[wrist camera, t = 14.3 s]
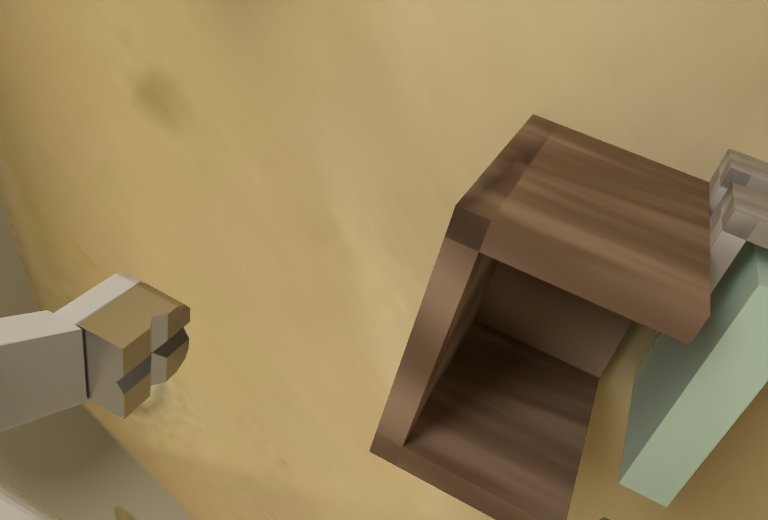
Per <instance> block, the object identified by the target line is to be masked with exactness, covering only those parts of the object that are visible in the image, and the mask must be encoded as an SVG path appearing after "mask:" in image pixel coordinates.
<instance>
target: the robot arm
mask: <svg viewBox="0 0 768 520" xmlns="http://www.w3.org/2000/svg"><path fill="white" fill-rule="evenodd" d="M189 322H190V308H189V307H188V306H186V305H185V304H183V303H181V302H179V301H177V300H176V299H174V298H172V297H170V296H168V295H166V294H165V293H163V292H161V291H159V290H157V289H155V288H154V287H152V286H150V285H148V284H146V283H144V282H142V281H140V280H138V279H136V278H134V277H133V276H131V275H129V274H127V273H125V272H122V273H116V274H114V275H112V276H111V277H109V278H107V279H106V280H104V281H103V282H101V283H100V284H98V285H97V286H95V287H94V288H92V289H90V290H89V291H87V292H86V293H84V294H83V295H81V296H80V297H78V298H76V299H75V300H73V301H72V302H70V303H69V304H67V305H66V306H64V307H62V308H61V309H59V310H58V311H56V312H55V313H52V312H50V311H48V310H45V311H39V312H33V313H28V314H22V315H16V316H10V317H4V318H0V432H2V431H5V430H8V429H11V428H13V427H16V426H19V425H22V424H25V423H28V422H31V421H34V420H36V419H39V418H42V417H45V416H48V415H51V414H54V413H57V412H59V411H62V410H65V409H68V408H71V407H74V406H76V405H79V404H82V403H85V402H87V399H88V400H90V401H92V402H94V403H96V404H97V405H99V406H101V407H103V408H105V409H107V410H109V411H111V412H112V413H114V414H116V415H118V416H120V417H122V418H124V419H125V418H126V417H127V416H128V415H130V414H131V413H132V412H133V411H134V410H135V409H136V408H137V407H138V406H140V405H141V404H142V403H143V402H144V401H145V400H146V399H147V398H149V397H150V391H151V385H155V384H159V383H163V382H166V381H167V380H168V379H169V378H170V377H172V376H173V375H174V374H175V373H176V372H177V370H178V369H179V367H180V366H181V364H182V363H183V361H184V359H185V357H186V354H187V351H188V347H189V337H188V335H187V333H186V331H185V329H184V326H185V325H186V324H188V323H189ZM0 520H62V519H61V518H59V517H57V516H56V515H54V514H53V513H51V512H49V511H48V510H46V509H45V508H43V507H42V506H40V505H38V504H37V503H35V502H34V501H32V500H30V499H29V498H27V497H26V496H24V495H23V494H21V493H19V492H18V491H16V490H14V489H13V488H12V487H10V486H8V485H7V484H5V483H4V482H2V481H1V480H0ZM600 520H609V519H607V518H605V517H603V518H602V519H600Z"/></svg>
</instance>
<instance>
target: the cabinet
mask: <svg viewBox="0 0 768 520" xmlns="http://www.w3.org/2000/svg"><path fill="white" fill-rule="evenodd" d="M746 241H749V242H751V243H754V244H756V245H759V246H761V247H764V248H766V249H768V163H765V162H763V161H760V160H757V159H755V158H752V157H749V156H747V155H744V154H741V153H739V152H736V151H733V150H731V149H729V150H728V152H727V154H726V155H725V157H724V159H723V160H722V162H721V164H720V165H719V167H718V169H717V171H716V172H715V174H714V176H713V177H712V179H711V181H710V182H706V181H704V180H701V179H698V178H696V177H693V176H691V175H688V174H686V173H683V172H680V171H678V170H675V169H673V168H670V167H667V166H665V165H662V164H660V163H657V162H655V161H652V160H649V159H647V158H644V157H642V156H639V155H637V154H634V153H631V152H629V151H626V150H624V149H621V148H618V147H616V146H613V145H611V144H608V143H606V142H603V141H600V140H598V139H595V138H593V137H590V136H588V135H585V134H582V133H580V132H577V131H575V130H572V129H569V128H567V127H564V126H562V125H559V124H557V123H554V122H551V121H549V120H546V119H544V118H541V117H539V116H536V115H532V116H531V117H530V119H529V120H528V121H527V122H526V123H525V124H524V126H523V127H522V128H521V129H520V130H519V132H518V133H517V134H516V135H515V136H514V137H513V139H512V140H511V141H510V142H509V143H508V144H507V146H506V147H505V148H504V149H503V150H502V151H501V153H500V154H499V155H498V156H497V157H496V159H495V160H494V161H493V162H492V163H491V164H490V166H489V167H488V168H487V169H486V170H485V171H484V173H483V174H482V175H481V176H480V177H479V179H478V180H477V181H476V182H475V183H474V184H473V186H472V187H471V188H470V189H469V190H468V191H467V193H466V194H465V195H464V196H463V197H462V198H461V200H460V201H459V202H458V203H457V204H456V206H455V209H454V212H453V215H452V218H451V220H450V223H449V226H448V229H447V232H446V235H445V237H444V240H443V243H442V246H441V249H440V252H439V255H438V257H437V260H436V263H435V266H434V269H433V272H432V274H431V277H430V280H429V283H428V286H427V289H426V292H425V294H424V297H423V300H422V303H421V306H420V309H419V311H418V314H417V317H416V320H415V323H414V326H413V329H412V331H411V334H410V337H409V340H408V343H407V346H406V348H405V351H404V354H403V357H402V360H401V363H400V366H399V368H398V371H397V374H396V377H395V380H394V383H393V385H392V388H391V391H390V394H389V397H388V400H387V403H386V405H385V408H384V411H383V414H382V417H381V420H380V422H379V425H378V428H377V431H376V434H375V437H374V440H373V442H372V445H371V448H370V452H372V453H373V454H375V455H377V456H379V457H381V458H383V459H384V460H386V461H388V462H390V463H392V464H394V465H396V466H397V467H399V468H401V469H403V470H405V471H407V472H409V473H410V474H412V475H414V476H416V477H418V478H420V479H422V480H423V481H425V482H427V483H429V484H431V485H433V486H435V487H436V488H438V489H440V490H442V491H444V492H446V493H447V494H449V495H451V496H453V497H455V498H457V499H459V500H460V501H462V502H464V503H466V504H468V505H470V506H472V507H473V508H475V509H477V510H479V511H481V512H483V513H485V514H486V515H488V516H490V517H492V518H494V519H496V520H566V519H567V515H568V510H569V506H570V502H571V497H572V493H573V489H574V484H575V480H576V476H577V472H578V467H579V463H580V459H581V454H582V450H583V446H584V441H585V437H586V433H587V428H588V424H589V420H590V415H591V411H592V407H593V402H594V398H595V394H596V389H597V385H598V381H599V377H600V376H601V374H602V372H603V371H604V369H605V367H606V366H607V364H608V362H609V360H610V359H611V357H612V355H613V354H614V352H615V350H616V349H617V347H618V345H619V344H620V342H621V340H622V339H623V337H624V335H625V334H626V332H627V330H628V329H629V327H630V325H631V324H632V322H633V321H635V322H638V323H640V324H642V325H644V326H647V327H649V328H651V329H653V330H656V331H658V332H660V333H662V334H664V335H667V336H669V337H671V338H673V339H676V340H678V341H680V342H682V343H685V344H687V345H689V346H690V344H691V343H692V341H693V340H694V338H695V337H696V336H697V334H698V333H699V331H700V330H701V328H702V327H703V325H704V324H705V322H706V321H707V319H708V318H709V316H710V294H711V293H712V291H713V290H714V288H715V287H716V285H717V284H718V282H719V281H720V279H721V278H722V276H723V275H724V273H725V272H726V270H727V269H728V267H729V266H730V264H731V263H732V261H733V260H734V258H735V257H736V255H737V254H738V252H739V251H740V249H741V248H742V246H743V245H744V243H745V242H746Z"/></svg>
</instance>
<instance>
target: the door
mask: <svg viewBox="0 0 768 520" xmlns="http://www.w3.org/2000/svg"><path fill="white" fill-rule="evenodd" d="M767 381H768V249H766V248H764V247H761V246H759V245H756V244H754V243H751V242H749V241H746V242H745V243H744V245H743V246H742V248H741V249H740V251H739V252H738V254H737V255H736V257H735V258H734V260H733V261H732V263H731V264H730V266H729V267H728V269H727V270H726V272H725V273H724V275H723V276H722V278H721V279H720V281H719V282H718V284H717V285H716V287H715V288H714V290H713V291H712V293H711V294H710V316H709V318H708V319H707V321H706V322H705V324H704V325H703V327H702V328H701V330H700V331H699V333H698V334H697V336H696V337H695V338H694V340H693V341H692V343H691V344H690V346H689V345H687V344H685V343H682V342H680V341H678V340H676V339H673V338H671V337H669V336H667V335H664V334H662V333H660V334H659V336H658V338H657V339H656V341H655V342H654V344H653V345H652V347H651V349H650V350H649V352H648V353H647V355H646V356H645V358H644V360H643V361H642V363H641V364H640V366H639V368H638V369H637V371H636V373H635V380H634V386H633V392H632V399H631V405H630V412H629V418H628V425H627V431H626V438H625V444H624V450H623V457H622V463H621V470H620V476H619V484H621V485H623V486H625V487H627V488H629V489H630V490H632V491H634V492H636V493H638V494H640V495H642V496H644V497H646V498H648V499H650V500H652V501H654V502H656V503H658V504H660V505H662V506H664V507H667V506H668V505H669V504H670V502H671V501H672V500H673V499H674V497H675V496H676V495H677V494H678V492H679V491H680V490H681V489H682V487H683V486H684V485H685V484H686V482H687V481H688V480H689V479H690V477H691V476H692V475H693V474H694V472H695V471H696V470H697V469H698V467H699V466H700V465H701V464H702V462H703V461H704V460H705V459H706V457H707V456H708V455H709V454H710V452H711V451H712V450H713V449H714V447H715V446H716V445H717V444H718V442H719V441H720V440H721V439H722V437H723V436H724V435H725V434H726V432H727V431H728V430H729V429H730V427H731V426H732V425H733V424H734V422H735V421H736V420H737V419H738V417H739V416H740V415H741V414H742V412H743V411H744V410H745V409H746V407H747V406H748V405H749V404H750V402H751V401H752V400H753V399H754V397H755V396H756V395H757V394H758V392H759V391H760V390H761V389H762V387H763V386H764V385H765V384H766V382H767Z"/></svg>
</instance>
